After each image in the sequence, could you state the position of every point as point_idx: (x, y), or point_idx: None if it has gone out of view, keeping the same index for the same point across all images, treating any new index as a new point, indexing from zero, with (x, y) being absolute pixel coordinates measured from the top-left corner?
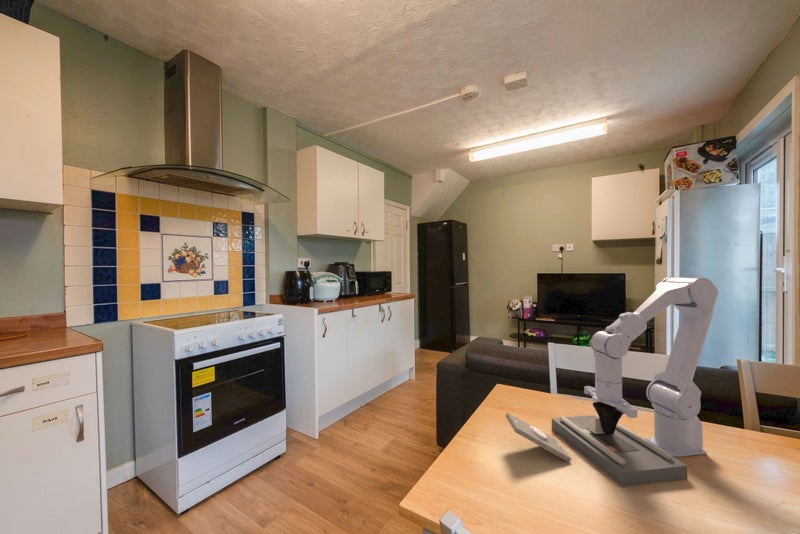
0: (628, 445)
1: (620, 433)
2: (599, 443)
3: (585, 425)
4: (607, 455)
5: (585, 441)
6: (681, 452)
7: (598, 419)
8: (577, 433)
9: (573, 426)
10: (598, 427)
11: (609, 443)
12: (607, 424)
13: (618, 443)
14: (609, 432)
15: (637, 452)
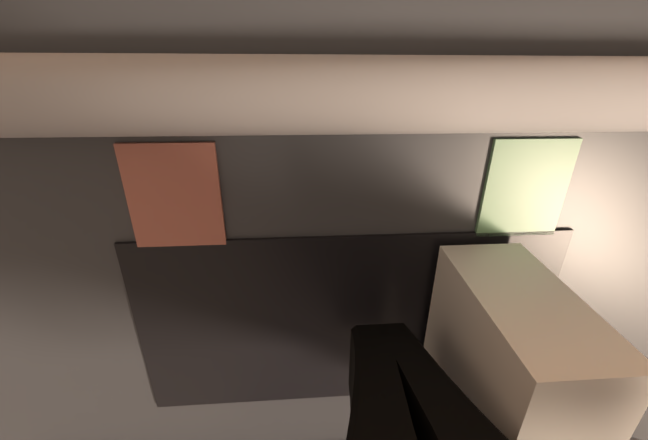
0: (224, 381)
1: None
2: (149, 88)
3: (606, 272)
4: None
5: (353, 29)
6: None
7: (511, 409)
8: None
9: (642, 68)
10: (460, 322)
11: (269, 262)
12: (348, 430)
13: (262, 333)
14: (353, 361)
15: (125, 376)
